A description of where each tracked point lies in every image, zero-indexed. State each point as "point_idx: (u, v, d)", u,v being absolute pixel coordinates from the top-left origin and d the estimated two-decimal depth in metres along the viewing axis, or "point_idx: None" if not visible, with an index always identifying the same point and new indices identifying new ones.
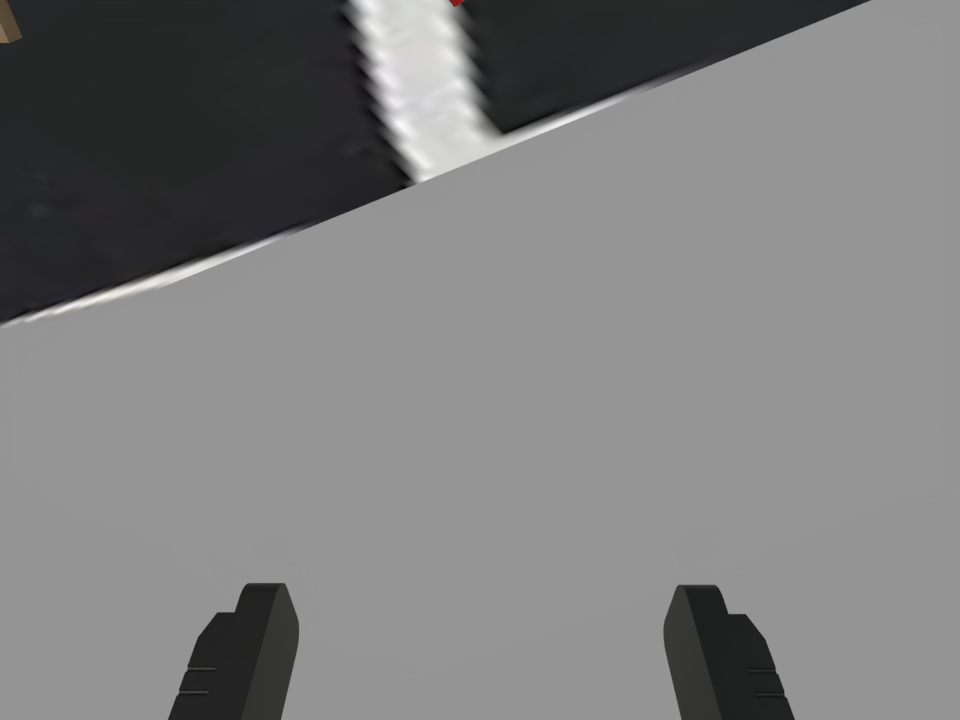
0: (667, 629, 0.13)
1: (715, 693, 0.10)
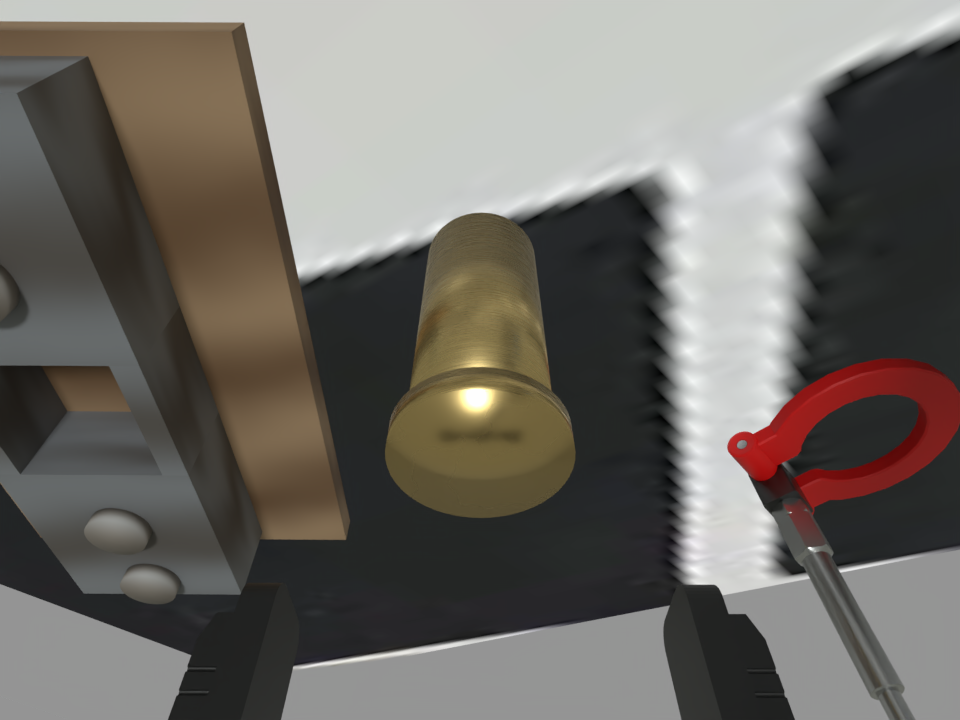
0: (667, 629, 0.13)
1: (715, 693, 0.10)
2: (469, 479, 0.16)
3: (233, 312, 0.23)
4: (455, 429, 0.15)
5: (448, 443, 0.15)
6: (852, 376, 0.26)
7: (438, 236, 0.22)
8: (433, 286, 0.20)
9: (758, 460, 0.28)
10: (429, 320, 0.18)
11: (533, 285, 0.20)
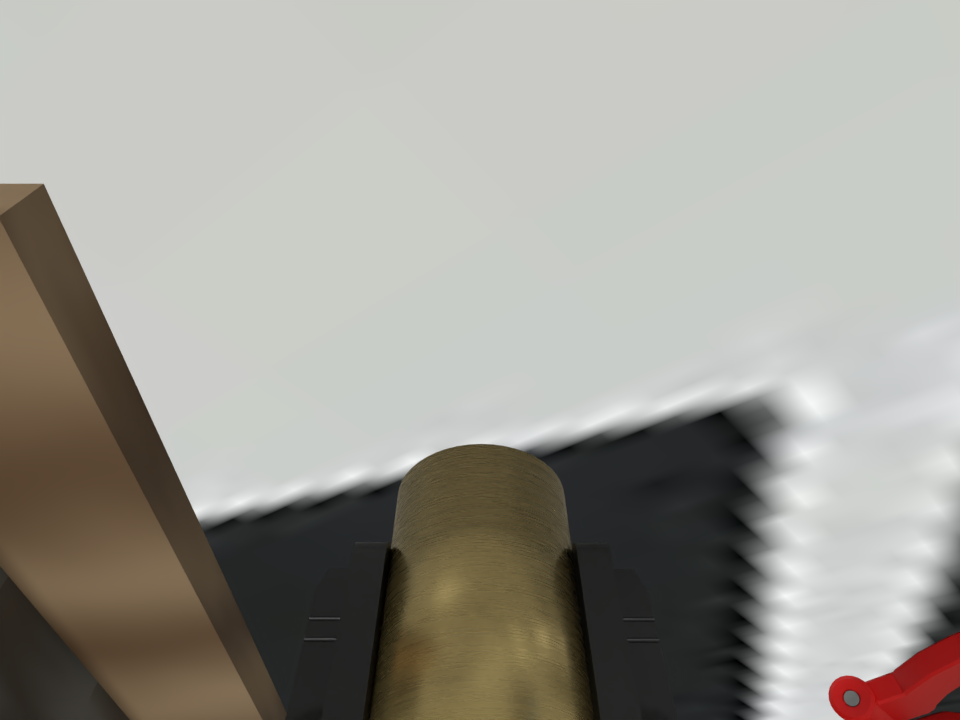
0: None
1: (589, 637, 0.11)
2: None
3: (94, 582, 0.15)
4: None
5: None
6: None
7: (411, 480, 0.14)
8: (396, 623, 0.11)
9: None
10: None
11: (570, 606, 0.12)
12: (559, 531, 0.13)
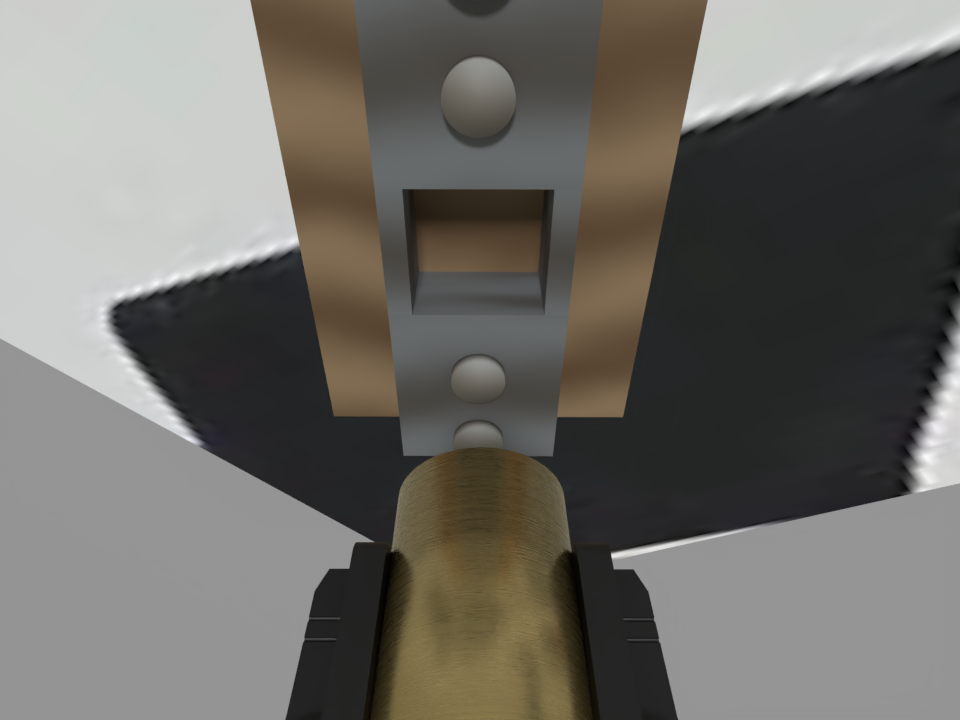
0: None
1: (589, 637, 0.11)
2: None
3: (618, 160, 0.25)
4: None
5: None
6: None
7: (412, 483, 0.14)
8: (397, 626, 0.11)
9: None
10: None
11: (570, 609, 0.12)
12: (559, 534, 0.13)
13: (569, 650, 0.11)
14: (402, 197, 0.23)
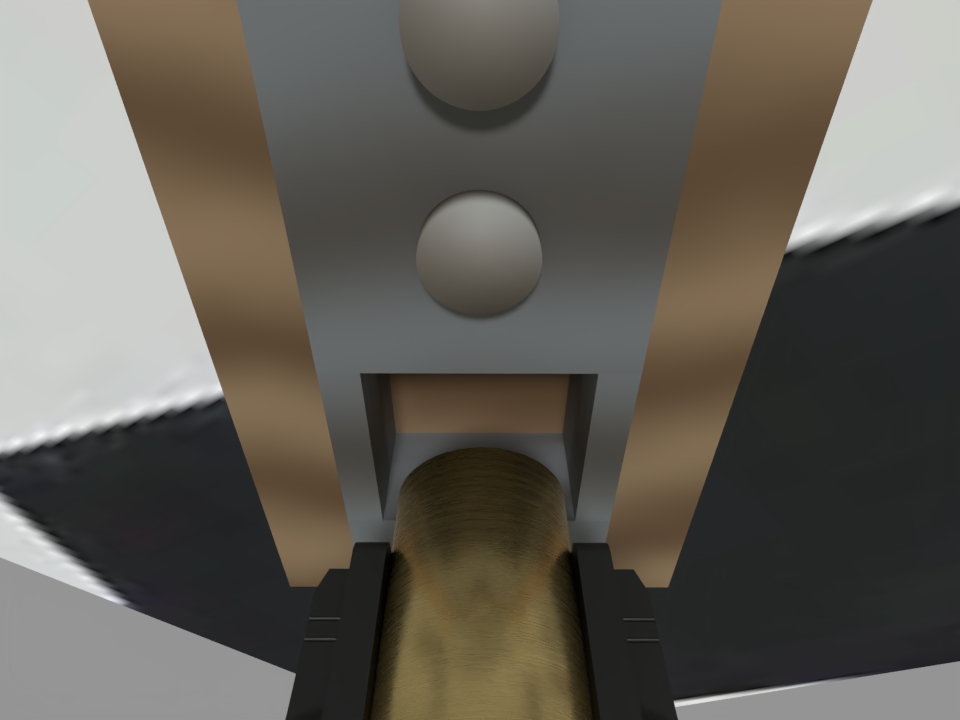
0: None
1: (589, 637, 0.11)
2: None
3: (684, 300, 0.17)
4: None
5: None
6: None
7: (412, 483, 0.14)
8: (397, 625, 0.11)
9: None
10: None
11: (570, 609, 0.12)
12: (559, 534, 0.13)
13: (569, 650, 0.11)
14: (361, 382, 0.15)
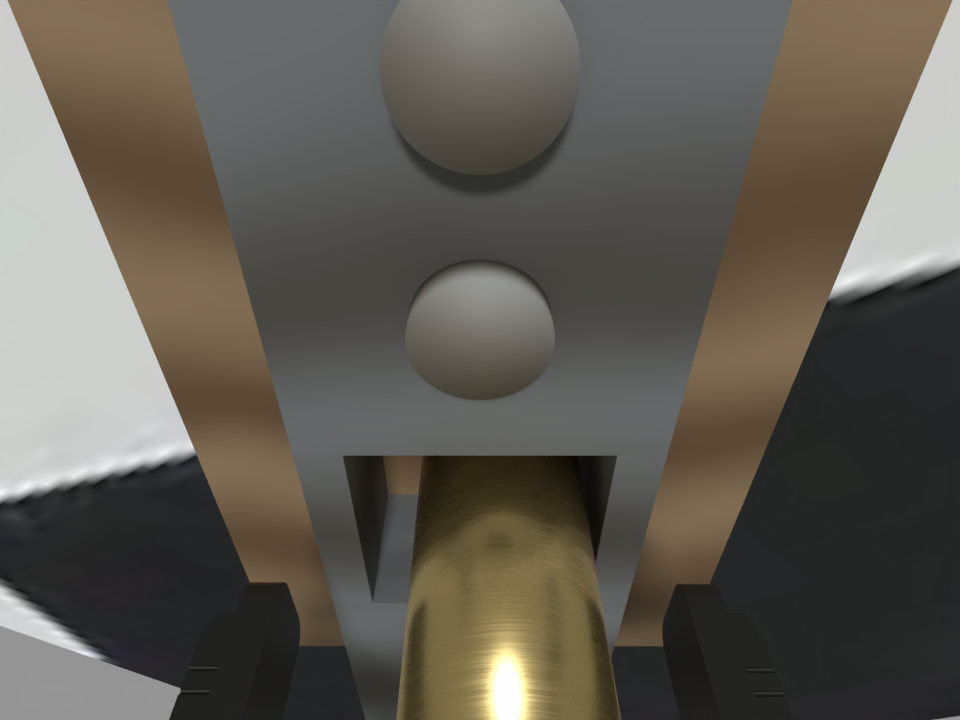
0: (666, 628, 0.13)
1: (714, 692, 0.10)
2: None
3: (709, 357, 0.15)
4: None
5: None
6: None
7: None
8: (431, 512, 0.13)
9: None
10: (427, 593, 0.12)
11: (579, 502, 0.14)
12: None
13: (579, 531, 0.13)
14: (344, 464, 0.13)
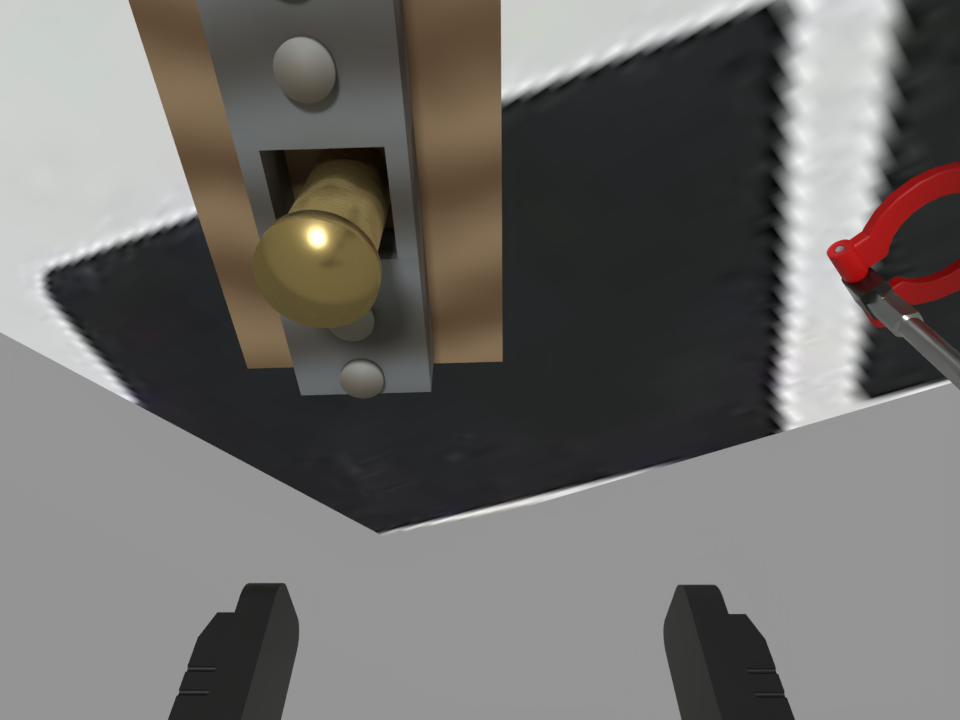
0: (667, 629, 0.13)
1: (715, 693, 0.10)
2: (313, 294, 0.24)
3: (453, 126, 0.30)
4: (295, 251, 0.23)
5: (293, 263, 0.23)
6: (932, 175, 0.32)
7: (318, 159, 0.31)
8: (304, 185, 0.28)
9: (854, 260, 0.35)
10: (295, 201, 0.26)
11: (377, 183, 0.28)
12: (380, 170, 0.30)
13: (371, 187, 0.28)
14: (260, 158, 0.27)
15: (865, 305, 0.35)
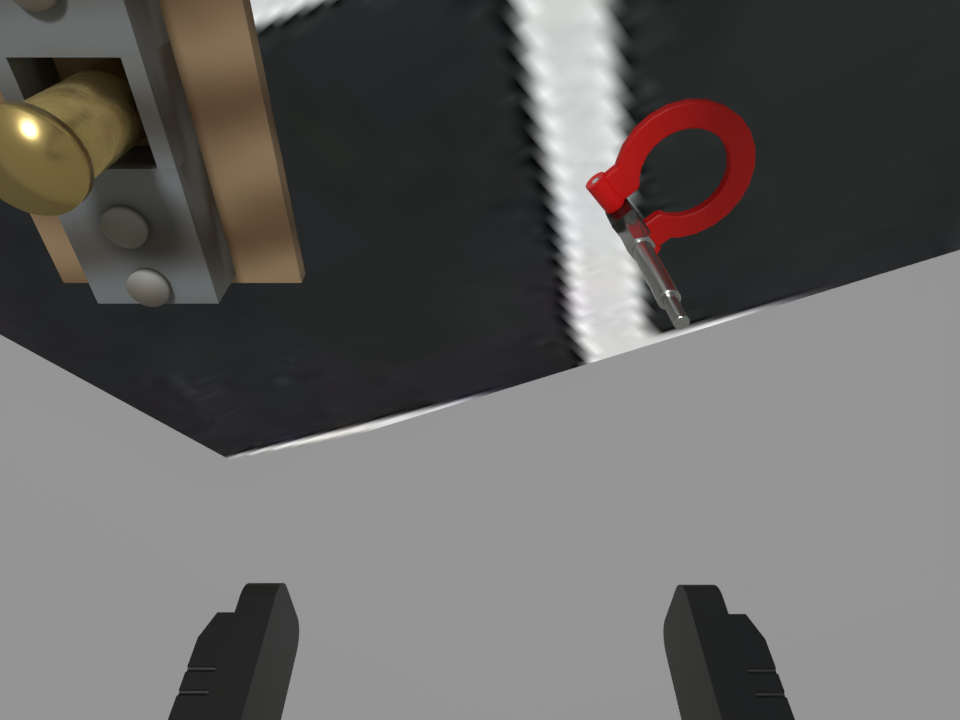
0: (667, 629, 0.13)
1: (715, 693, 0.10)
2: (27, 181, 0.27)
3: (208, 47, 0.33)
4: None
5: (0, 150, 0.26)
6: (664, 110, 0.35)
7: None
8: None
9: (606, 190, 0.38)
10: None
11: (123, 94, 0.31)
12: None
13: (111, 95, 0.30)
14: (10, 65, 0.30)
15: (618, 233, 0.38)
